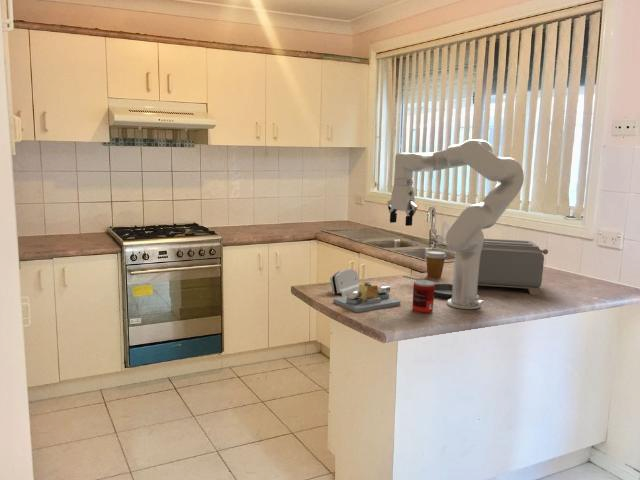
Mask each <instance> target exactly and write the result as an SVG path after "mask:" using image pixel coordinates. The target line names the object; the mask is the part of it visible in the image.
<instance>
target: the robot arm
mask: <svg viewBox="0 0 640 480" xmlns="http://www.w3.org/2000/svg"><path fill="white" fill-rule="evenodd" d="M465 166H469V167H470V168H471V169H473V170H474V171H475V172H477V173H478V174H479V175H481V176H482V177H483V178H484V179H486V180H488V181H490V182H497V183H496V185H494V187H492V188H491V190H490V191H488V194H486V196H485V197H484V198H483V199H482V200H481V202H479V203H474V204H470V205H469V206H467V207H466V208H465V209H464V210H462V212H461V213H460V214H459V216H458V217H457V219H455V221H454V223H453V224H452V225H451V226H450V227H449V229H448V230H447V232H446V234H445V239H444V240H445V245H446V247H447V248H448V249H449V250H450V251H451V252H454V253H455V254H454V255H455V256H454V262H453V273H452V275H453V276H452V298H451V299H446V300H447V301H446V304H447V305H448V306H450V307H452V308H455V309H461V310H475V309H479V308H481V307H482V306H483V305H484V303H485V302H484V300H481V299H480V295H478V288H479V285H478V278H479V266H480V257H481V251H482V247H483V242H484V239H485V237H484V231H482V230H485V229H489V228H492V227H493V226H494V225H495V224H496V223H497V221H498V220H499V219H500V217H502V215H503V214H504V212H505V211H506V210H507V209H508V207H509V206H510V205H511V203H512V202H513V201H514V199H515V198H516V197H517V195H519V193H520V191H521V189H522V187H523V185H524V180H525V179H524V178H525V174H524V169H523V167H522V165H521V163H520V162H519V161H518V160H516V159H515V158H512V157H507V156H505V157H504V156H497V155H495V154H494V153H493V146H492V145H491V143H490V142H488V141H486V140H484V139H472V138H471V139H468V140H465V141H464V142H463V143H457V144H451V145H449V146H447V148H446V149H445V150H444V149H443V150H438V151H433V152H413V153H411V152H397V153H396V154H395V157H394V175H393V186H392V189H391V196H390V197H391V198H390V200H388V201H387V202H386V204H387V209H388V212H389V223H390V224H391V223H397V219H398V218H397V216H398V214H397V212H398V211H400V212H401V211H402V212H405V214H406V216H405V222H404V223H405V226H407V227H411V226H413V219H414V218H413V217H414V216H415V214H416V211H417V209H418V205H417V204H415V188H414V187H413V184H414V182H413V178H414V172H417V173H418V172H419V173H420V172H422V173H423V172H425V173H426V172H434V171H440V170H446V169H453V168H459V167H465Z"/></svg>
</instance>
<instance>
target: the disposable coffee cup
mask: <svg viewBox="0 0 640 480" xmlns="http://www.w3.org/2000/svg"><path fill="white" fill-rule="evenodd" d="M446 257H447V254H446V252H444V251H441V250H426V253H425V259H426V273H427V275H426V276H427V278H428V279H433V280H436V279H437V280H439V279H441V278H442V274H443V270H444V264H445V259H446Z"/></svg>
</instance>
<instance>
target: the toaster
mask: <svg viewBox="0 0 640 480" xmlns="http://www.w3.org/2000/svg"><path fill="white" fill-rule="evenodd" d="M548 254H549V250H548V249H547V248H544V249H541V248H540V247H539V246H538V245H537V244H536V243H534V242H533V241H531V240H515V239H501V238H498V239H497V238H496V239H495V238H484V242H483V247H482V251H481V257H480V266H479V278H478V286H483V287H484V286H489V287H500V288H501V287H502V288H516V289H518V288H519V289H526V290H527V292H528V293H529V294H530V295H537V296H541V292H540V288H541V286H542V282H543V272H544V263H545V262H544V261H545V255H548Z"/></svg>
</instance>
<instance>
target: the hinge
mask: <svg viewBox="0 0 640 480" xmlns="http://www.w3.org/2000/svg"><path fill="white" fill-rule="evenodd" d="M329 280H330V287H331V291H332V292H331V293H332V295H336V294H340V295H341V297H346V296H347V294H348V293H350V292H353V291H356V290H359V284H362V283H361V281H360V278H359V275H358V272H357V270H355V269H349V268H348V269H341V270H339V271H337V272H335V273H333V275H331V277H330V278H329Z"/></svg>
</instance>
